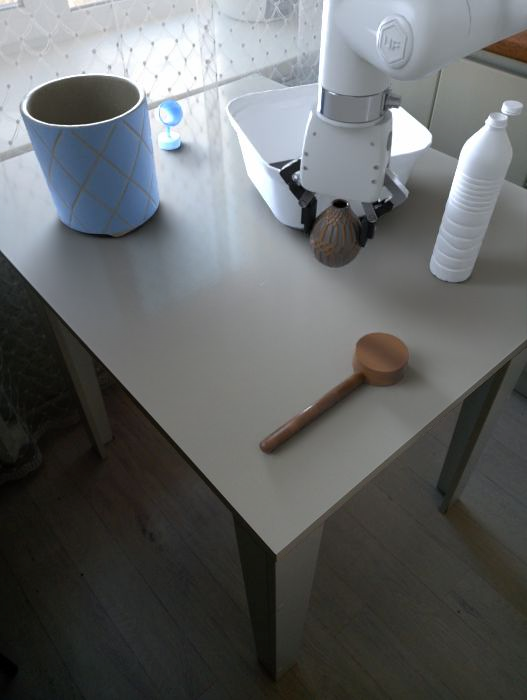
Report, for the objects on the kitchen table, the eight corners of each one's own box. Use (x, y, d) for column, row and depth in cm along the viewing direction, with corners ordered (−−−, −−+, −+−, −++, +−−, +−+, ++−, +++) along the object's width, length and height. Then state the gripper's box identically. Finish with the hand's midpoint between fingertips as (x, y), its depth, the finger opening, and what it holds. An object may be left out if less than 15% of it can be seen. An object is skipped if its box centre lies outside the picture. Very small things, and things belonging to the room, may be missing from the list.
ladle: (376, 339, 78) (379, 324, 76) (415, 368, 74) (419, 353, 72) (242, 434, 67) (241, 420, 65) (280, 473, 64) (281, 459, 62)
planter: (183, 195, 103) (169, 85, 88) (124, 253, 91) (96, 138, 76) (98, 173, 108) (72, 65, 93) (33, 225, 97) (-9, 112, 82)
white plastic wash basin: (436, 234, 94) (458, 153, 83) (280, 271, 88) (282, 189, 77) (348, 143, 116) (356, 69, 105) (218, 167, 109) (212, 92, 99)
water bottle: (458, 289, 85) (512, 132, 66) (421, 271, 88) (462, 116, 69) (484, 262, 89) (541, 108, 71) (448, 245, 92) (494, 94, 74)
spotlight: (188, 149, 114) (175, 135, 118) (183, 101, 107) (169, 87, 111) (166, 155, 113) (153, 141, 117) (159, 106, 105) (145, 93, 109)
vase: (369, 258, 76) (378, 202, 70) (338, 282, 73) (345, 226, 66) (329, 237, 79) (335, 182, 73) (298, 259, 76) (301, 204, 69)
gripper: (438, 97, 60) (407, 233, 73) (288, 74, 64) (284, 206, 78) (426, 128, 55) (395, 267, 69) (264, 101, 60) (265, 236, 73)
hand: (336, 234), depth 73 cm, fingers closed on vase, 6 cm apart
